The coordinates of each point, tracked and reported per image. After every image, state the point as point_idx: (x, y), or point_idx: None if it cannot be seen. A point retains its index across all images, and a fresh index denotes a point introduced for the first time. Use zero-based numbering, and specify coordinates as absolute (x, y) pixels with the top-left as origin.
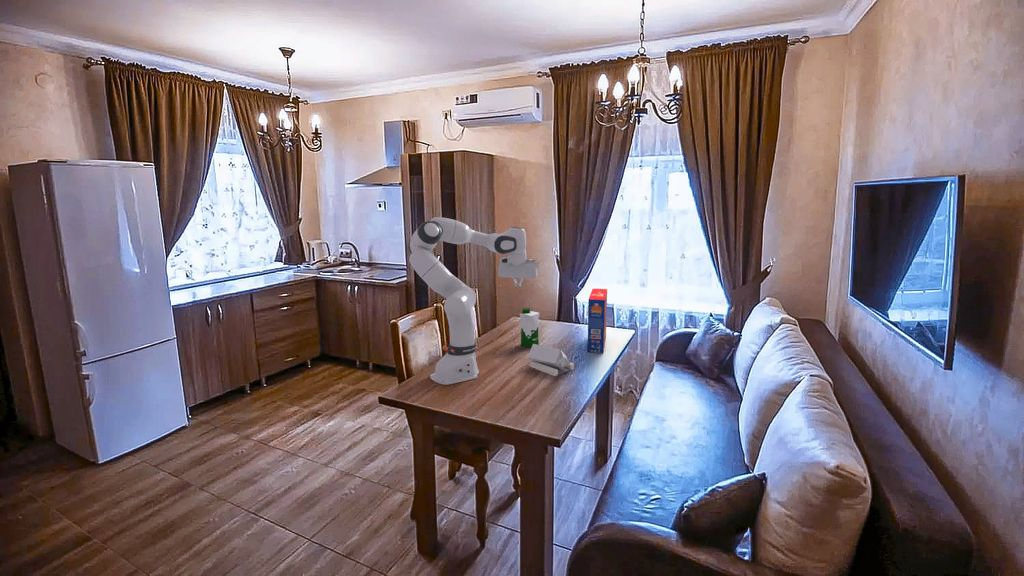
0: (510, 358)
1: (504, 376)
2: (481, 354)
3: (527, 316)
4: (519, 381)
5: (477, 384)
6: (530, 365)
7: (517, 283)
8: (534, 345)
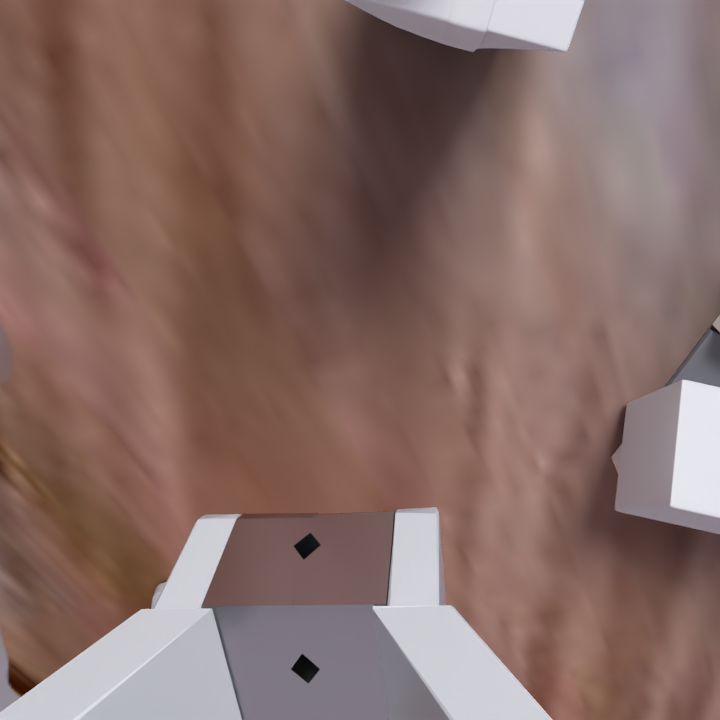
0: (418, 350)
1: (499, 615)
2: (178, 341)
3: (485, 36)
4: (604, 649)
5: None
6: (617, 465)
7: (318, 716)
8: (683, 511)
